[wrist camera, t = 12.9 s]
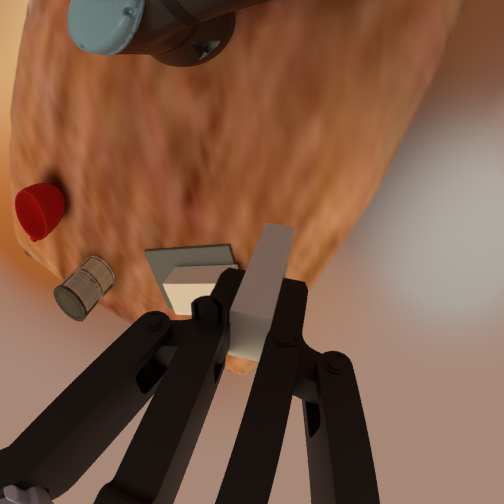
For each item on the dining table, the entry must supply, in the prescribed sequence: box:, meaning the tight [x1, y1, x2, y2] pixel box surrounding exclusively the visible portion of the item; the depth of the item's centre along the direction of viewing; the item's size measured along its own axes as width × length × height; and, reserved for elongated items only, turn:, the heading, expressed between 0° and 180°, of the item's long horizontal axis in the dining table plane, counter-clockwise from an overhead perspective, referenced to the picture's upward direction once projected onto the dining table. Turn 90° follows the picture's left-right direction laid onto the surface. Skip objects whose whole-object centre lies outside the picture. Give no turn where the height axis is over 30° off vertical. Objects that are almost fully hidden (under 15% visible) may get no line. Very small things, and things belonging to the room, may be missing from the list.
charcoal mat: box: [144, 244, 236, 308], centre depth 63 cm, size 20×16×1 cm
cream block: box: [163, 265, 238, 315], centre depth 59 cm, size 6×8×14 cm
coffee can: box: [54, 256, 115, 321], centre depth 66 cm, size 10×10×14 cm
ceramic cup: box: [15, 183, 65, 242], centre depth 59 cm, size 13×17×10 cm
